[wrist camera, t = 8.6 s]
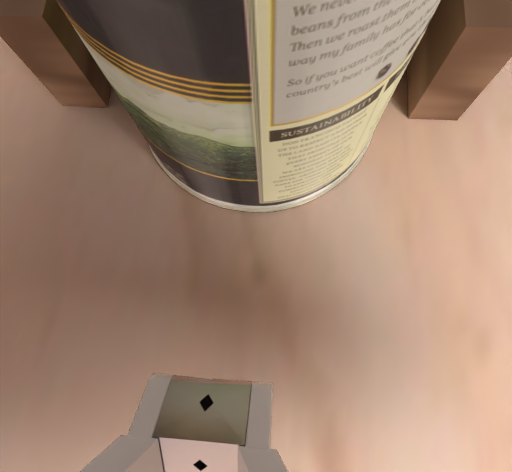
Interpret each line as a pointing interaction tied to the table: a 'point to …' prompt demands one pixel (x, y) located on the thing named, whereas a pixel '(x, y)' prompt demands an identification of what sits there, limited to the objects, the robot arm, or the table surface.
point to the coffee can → (253, 86)
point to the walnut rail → (418, 69)
